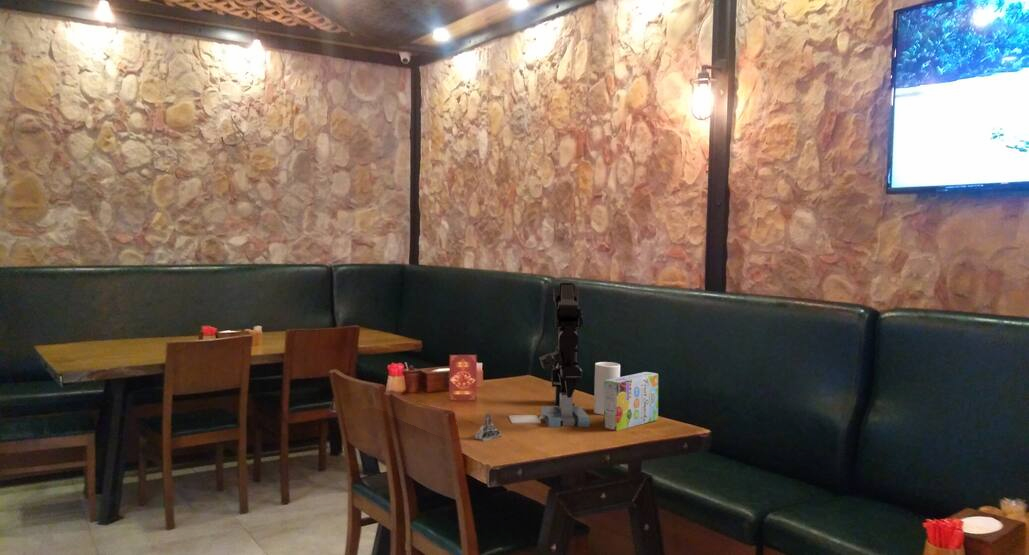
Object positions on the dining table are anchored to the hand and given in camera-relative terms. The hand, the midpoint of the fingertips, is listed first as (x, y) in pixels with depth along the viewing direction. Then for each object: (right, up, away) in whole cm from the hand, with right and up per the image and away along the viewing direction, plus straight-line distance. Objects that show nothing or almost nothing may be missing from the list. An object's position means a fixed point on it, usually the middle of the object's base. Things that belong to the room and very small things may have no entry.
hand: (566, 394), depth 246 cm
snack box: (+20, -10, 0) cm, 22 cm away
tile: (-13, -9, +2) cm, 16 cm away
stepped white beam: (0, -9, -1) cm, 9 cm away
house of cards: (-25, -10, -18) cm, 32 cm away
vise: (-1, -9, +2) cm, 9 cm away
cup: (+14, -8, +15) cm, 22 cm away
